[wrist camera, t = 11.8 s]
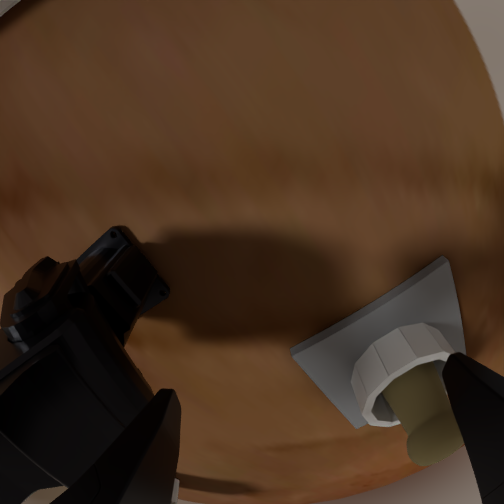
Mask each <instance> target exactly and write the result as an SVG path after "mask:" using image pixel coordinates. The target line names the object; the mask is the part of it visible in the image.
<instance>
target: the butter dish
mask: <svg viewBox="0 0 504 504" xmlns="http://www.w3.org/2000/svg"><path fill="white" fill-rule="evenodd" d="M19 1H21V0H0V17H1V16H2V15H3V14H4V13H6V12H7V11H8V10H9V9H10V8H12V7H13V6H14V5H15V4H17V3H18V2H19Z"/></svg>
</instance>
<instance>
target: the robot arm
mask: <svg viewBox="0 0 504 504" xmlns="http://www.w3.org/2000/svg"><path fill="white" fill-rule="evenodd" d="M113 231H114V232H116V234H117V236H114V235H113ZM161 290H164V291H165V292H166V293H162V292H161ZM169 294H170V288H169V287H168V286H167V285H166V283H165V282H164V281H163V280H162V279H161V278H160V277H159V275H158V274H157V271H156V270H155V268H154V267H153V266H152V265H151V264H150V262H149V261H148V260H147V259H146V258H145V256H144V255H143V254H142V253H141V252H140V250H139V249H138V248H137V247H136V246H134V245H133V244H132V243H131V242H130V241H129V239H128V238H127V237H126V236H125V234H124V233H123V232H122V230H121V229H120V228H119V227H117V226H113V227H111V228H110V229H109V230H108V231H107V232H106V233H104V234H103V235H102V236H101V237H100V238H99V239H98V240H97V241H96V242H95V243H94V244H92V245H91V246H90V247H89V248H88V249H87V250H86V251H85V252H84V253H83V254H82V255H81V256H80V257H79V258H78V259H77V260H76V259H75V260H72V261H69V262H65V263H61V264H60V263H59V262H56V261H55V260H53V259H51V258H50V257H48V256H47V257H45V258H42V259H40V260H39V261H38V262H37V263H36V264H34V265H33V266H32V267H31V268H30V269H29V270H28V271H27V272H26V273H25V274H24V275H23V277H22V279H20V280H19V281H17V282H16V284H15V286H14V288H12V289H11V290H10V291H8V292H7V293H6V294H5V295H4V299H3V305H2V312H1V319H0V326H1V329H0V504H22V503H23V502H24V501H25V500H26V499H27V498H28V497H29V496H31V495H32V494H33V493H34V492H36V491H37V490H39V489H46V488H52V487H59V486H65V487H67V488H68V489H67V490H66V491H65V492H64V493H62V494H61V495H60V496H59V497H57V498H56V499H55V500H53V501H52V502H51V503H50V504H171V500H172V494H173V488H174V481H175V475H176V469H177V463H178V457H179V447H180V425H181V405H180V402H179V400H178V397H177V395H176V392H175V390H174V389H160V390H159V391H158V392H157V393H156V395H155V396H154V394H153V392H152V389H151V387H150V386H149V384H148V383H147V381H146V380H145V379H144V377H143V375H142V373H141V372H140V370H139V369H138V368H137V367H136V366H135V364H134V363H133V361H132V360H131V358H130V357H129V355H128V353H127V352H126V350H125V349H124V347H125V344H126V342H127V340H128V338H129V336H130V334H131V332H132V330H133V328H134V326H135V323H136V321H137V319H138V317H139V316H140V315H141V314H143V313H144V312H146V311H147V310H149V309H151V308H152V307H154V306H155V305H157V304H158V303H160V302H161V301H163V300H165V299H166V298H167V297H168V296H169ZM442 378H443V381H444V384H445V388H446V391H447V394H448V398H449V401H450V405H451V408H452V411H453V414H454V417H455V419H456V422H457V425H458V427H459V430H460V433H461V435H462V438H463V441H464V444H465V447H466V449H467V452H468V455H469V458H470V461H471V464H472V468H473V471H474V474H475V478H476V481H477V484H478V488H479V492H480V496H481V499H482V504H504V377H503V376H501V375H499V374H498V373H496V372H494V371H493V370H491V369H489V368H487V367H486V366H484V365H482V364H480V363H479V362H477V361H475V360H474V359H472V358H470V357H468V356H467V355H465V354H463V353H461V352H456V353H453V354H450V355H449V357H448V359H447V361H446V363H445V366H444V368H443V370H442Z"/></svg>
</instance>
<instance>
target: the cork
mask: <svg viewBox="0 0 504 504" xmlns="http://www.w3.org/2000/svg"><path fill="white" fill-rule="evenodd" d="M381 393H382V394H383V396H384V397H385V399H386V401H387V402H388V404H389V405H390V407H391V408H392V410H393V412H394V413H395V415H396V416H397V418H398V420H399V421H400V423H401V424H402V426H403V428H404V429H405V431H406V432H407V434H408V439H407V452H408V455H409V457H410V459H411V460H412V461H413V462H414V463H416V464H417V465H419V466H428V465H432V464H435V463H437V462H439V461H441V460H443V459H445V458H447V457H448V456H450V455H451V454H453V453H454V452H455V451H457V450H458V449H459V448H460V447H461V446H462V445H463V444H464V441H463V438H462V435H461V433H460V430H459V427H458V425H457V422H456V419H455V417H454V414H453V411H452V408H451V405H450V402H449V400H448V397H447V395H446V392H445V389H444V387H443V384H442V382H441V379H440V377H439V374H438V372H437V370H436V367H435V365H434V363H433V361H430V362H427V363H423V364H419V365H416V366H415V367H413V368H412V369H410V370H408V371H407V372H405V373H403V374H402V375H400V376H398V377H397V378H395V379H393V380H392V381H391V382H390V383H389V385H388V386H387V387H386V388H385V389H384V390H383V391H382V392H381Z"/></svg>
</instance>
